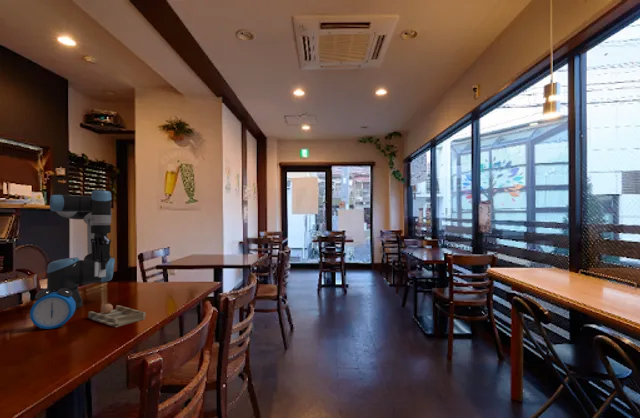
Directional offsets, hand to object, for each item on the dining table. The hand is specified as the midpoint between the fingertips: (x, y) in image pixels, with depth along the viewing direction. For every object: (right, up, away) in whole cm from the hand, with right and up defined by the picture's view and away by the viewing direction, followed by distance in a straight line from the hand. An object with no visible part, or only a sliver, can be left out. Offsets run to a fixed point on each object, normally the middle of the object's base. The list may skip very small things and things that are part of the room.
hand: (100, 276), depth 145 cm
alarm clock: (-6, -16, -19) cm, 25 cm away
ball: (+6, -13, -4) cm, 15 cm away
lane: (+13, -16, -8) cm, 22 cm away
